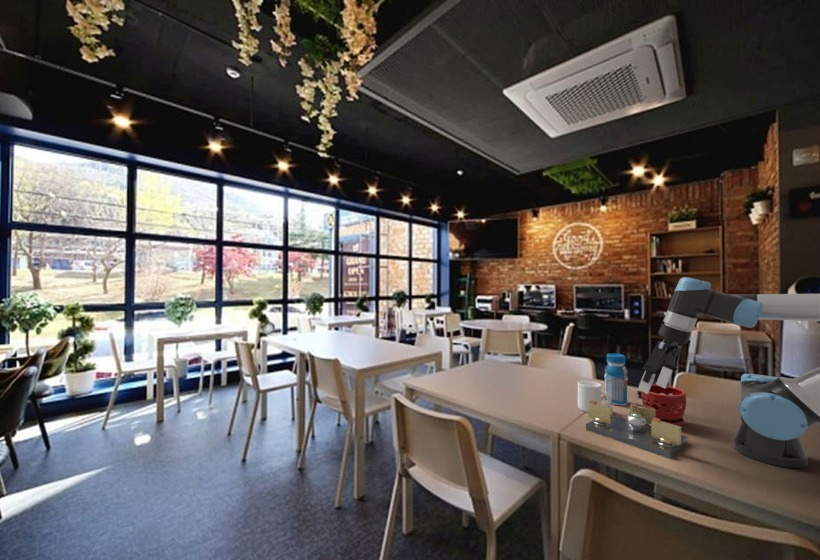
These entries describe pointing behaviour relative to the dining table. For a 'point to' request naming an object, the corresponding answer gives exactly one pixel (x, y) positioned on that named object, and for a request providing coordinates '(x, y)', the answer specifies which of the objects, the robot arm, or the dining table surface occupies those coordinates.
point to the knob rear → (643, 412)
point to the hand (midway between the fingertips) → (652, 388)
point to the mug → (590, 394)
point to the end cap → (640, 391)
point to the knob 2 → (665, 432)
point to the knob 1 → (600, 413)
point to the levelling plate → (635, 434)
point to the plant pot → (666, 403)
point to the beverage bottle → (616, 379)
